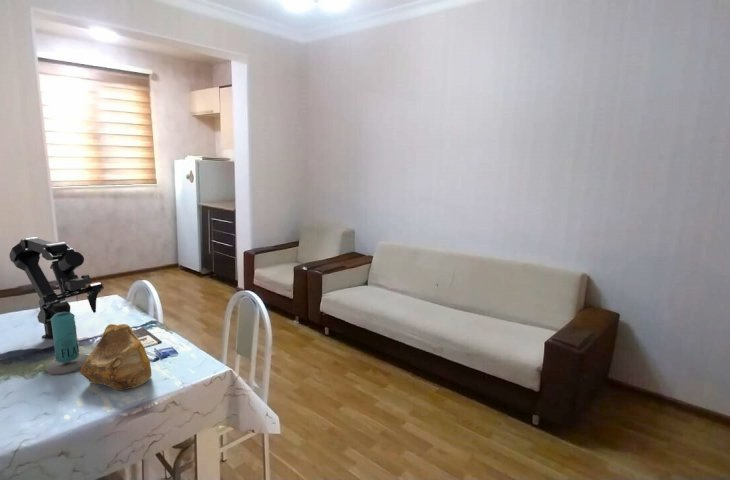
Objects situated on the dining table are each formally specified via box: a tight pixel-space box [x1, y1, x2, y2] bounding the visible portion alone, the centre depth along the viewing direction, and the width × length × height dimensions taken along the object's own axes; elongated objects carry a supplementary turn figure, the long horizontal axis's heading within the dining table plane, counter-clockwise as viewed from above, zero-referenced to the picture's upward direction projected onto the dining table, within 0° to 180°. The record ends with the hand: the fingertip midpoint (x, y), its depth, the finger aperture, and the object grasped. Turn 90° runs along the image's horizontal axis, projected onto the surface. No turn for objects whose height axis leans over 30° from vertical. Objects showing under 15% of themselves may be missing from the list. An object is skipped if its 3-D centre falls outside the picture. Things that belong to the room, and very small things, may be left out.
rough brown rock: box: [79, 323, 152, 392], centre depth 126 cm, size 23×17×15 cm
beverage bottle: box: [51, 301, 80, 363], centre depth 134 cm, size 6×7×20 cm
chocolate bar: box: [132, 327, 162, 348], centre depth 157 cm, size 9×1×18 cm
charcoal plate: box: [45, 353, 90, 376], centre depth 136 cm, size 12×12×1 cm
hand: (80, 316), depth 147 cm, fingers open, 9 cm apart
